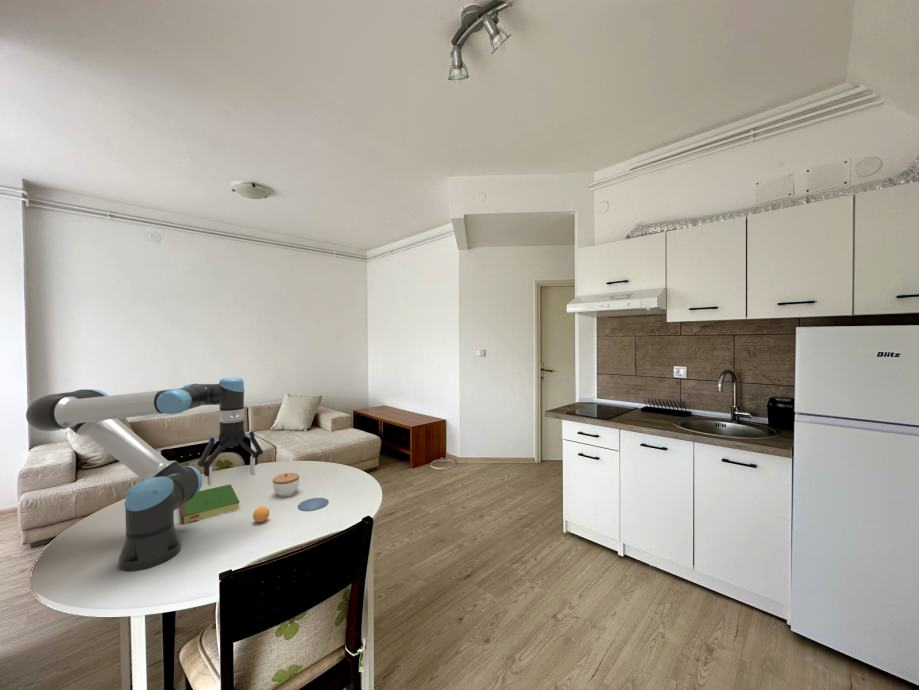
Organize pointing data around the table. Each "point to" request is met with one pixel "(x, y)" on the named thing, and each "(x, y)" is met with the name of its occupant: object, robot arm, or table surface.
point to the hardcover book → (209, 503)
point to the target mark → (313, 504)
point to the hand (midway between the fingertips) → (231, 479)
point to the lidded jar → (286, 484)
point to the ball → (261, 514)
